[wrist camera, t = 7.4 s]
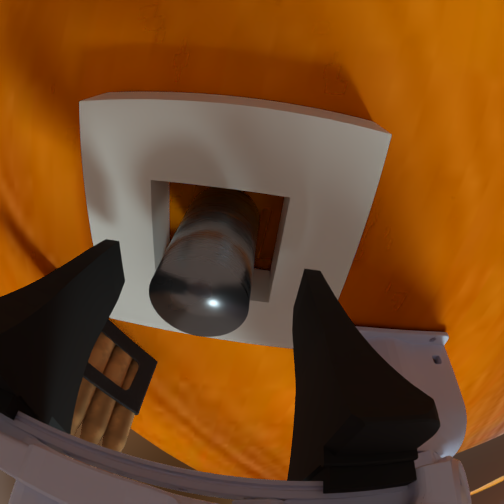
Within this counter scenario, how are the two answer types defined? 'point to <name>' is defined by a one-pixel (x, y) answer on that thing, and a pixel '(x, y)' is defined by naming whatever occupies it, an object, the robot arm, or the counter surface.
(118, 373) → the ammunition clip
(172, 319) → the metal peg
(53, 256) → the counter surface
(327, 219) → the socket block
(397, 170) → the counter surface
